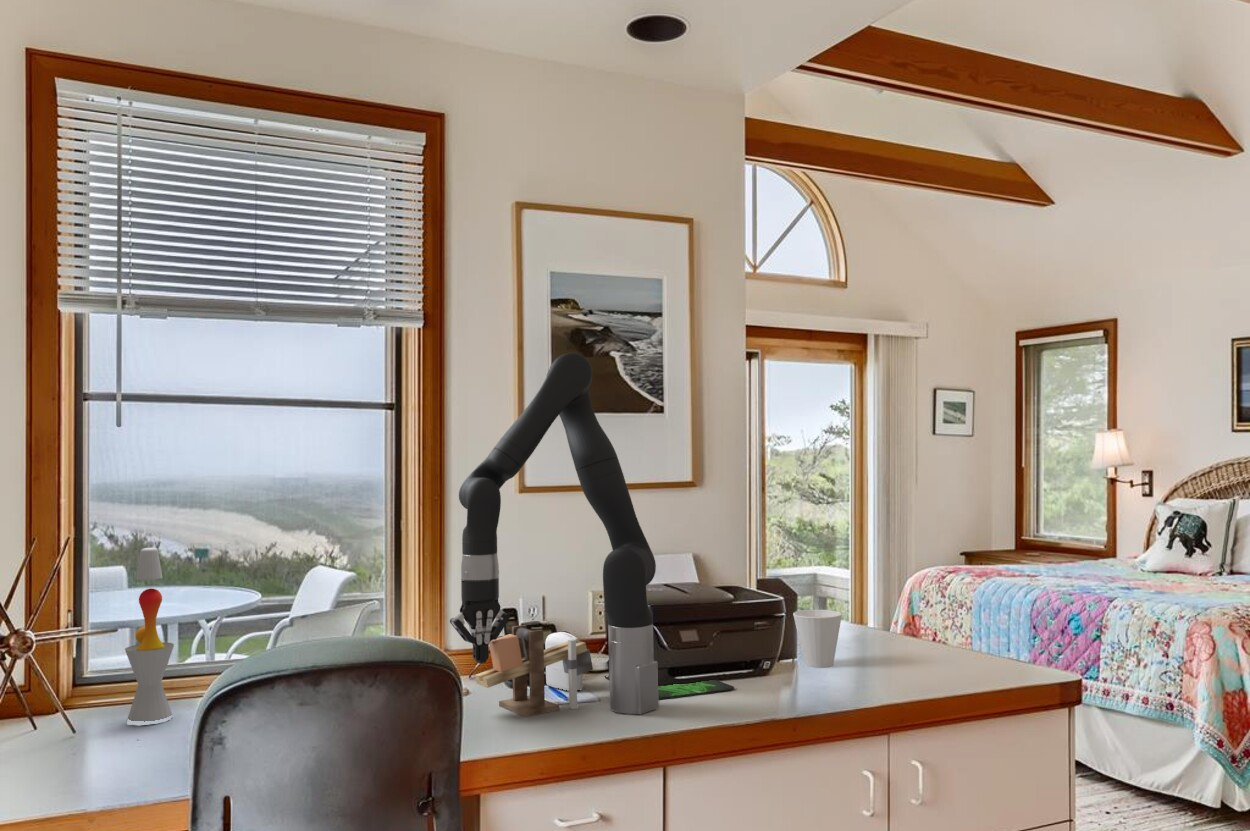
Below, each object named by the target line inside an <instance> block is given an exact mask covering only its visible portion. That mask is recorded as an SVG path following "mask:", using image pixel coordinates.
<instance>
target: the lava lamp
mask: <svg viewBox="0 0 1250 831" xmlns="http://www.w3.org/2000/svg"><path fill="white" fill-rule="evenodd" d="M162 572H163V571H162V565H161V562H160V556H159V550H158V548H156V547H145V548H142V549H141V550H140V554H139V560H138V564H137V572H136V578H135V580H136V581H153V580H159V579H161V580H162V579H163V573H162ZM162 602H163V595H162V593H161V591H159V590H158V589H156V588H147V589H144V590H143V591H142V592H141V593H140V594H139V597H138V604H139V606H140V608H141V611H142V612H141V613H142V615H143V620H144V626H142V627H139V628H138V629H137V631H136V632H135V640H136V641H137V642H138V644H135V645H129V646H127V647H125V648H124V650H125V653H126V656H127V659H128V661H129V664H130V666H131V667H130V668H131V669H132V672H133V674H134V678H135V680H136V683H137V684H138V685H137V687H136V690H135V694H134V697H133V699H132V704H131V707H130V709H129V713H128V716H127V719H129V720H131V721H144V722H145V721H155V720H160V719H164V718H167V717H169V716H171V715H173V713H172V709H171V707H170V704H169V701H168V698H167V695H166V691H165V688H164V687H163V684H162V681H163V678H164V675H165V673H166V669H167V667H168V664H169V661H170V658H171V655H172V653H173V650H174V647H175V644H174V643H172V642H163V641H162V640H161V639H160V637H159V635H158V634H159V633H158V631H157V617H158V613H159V610H160V607H161V604H162Z"/></svg>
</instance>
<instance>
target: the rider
mask: <svg viewBox="0 0 1250 831" xmlns="http://www.w3.org/2000/svg"><path fill="white" fill-rule="evenodd" d="M489 652H490V657H491V662H492V669H493V668H494V670H497V671H498V672H504V671H506V670H509V669H512V668H515V667H517V666H520V665H523V663H522V657H521V652H520V646H519V640H518V636H516V635H512V633H508V634H506V635H503V636H498V638H497V639H496V640H492V641H490V642H489Z"/></svg>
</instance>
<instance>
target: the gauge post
mask: <svg viewBox="0 0 1250 831" xmlns="http://www.w3.org/2000/svg"><path fill="white" fill-rule="evenodd" d="M567 668H569V691H568V708H569V709H570V708H571V710H575V709H574V708H577V709H578V691H577V659H576V640H574V639H571V640H568V659H567Z"/></svg>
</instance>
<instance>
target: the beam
mask: <svg viewBox="0 0 1250 831" xmlns="http://www.w3.org/2000/svg"><path fill="white" fill-rule="evenodd" d="M529 631H534V630H532V629H530V628H529V629H528V628H527V627H526V628H518V629H517V631H516V636H518V639H521V640H522V643H523V649H524V654H525V657H523V658H522V663H523V665H520V666H517V667H515V668H512V669H509V670H506V671H504V672H498V671H497V670H494V668H493V667H492V668H490V669H488V670H487V669H486V670H485V671H484V670H483V672H482V671H481V672H480V673H476V674H474V676H475V682H476V684H477V685H479V686H483V687H485V688H491V687H494V686H496V685H500V684H502V683H505V682H507V681H510V680H513V678H516V677H518V676H521V675H524V674H526V673H527V674H529ZM586 644H587V642H584V641H580V642H579V643H578V642H577V640H576V659H577V676H578V675H580V674H582V675H583V674H584V673H588V672H590V671H593V668H594V667H593V661H592V657H591V656H592V655H591V650H590V649H589V648H587V645H586ZM567 659H568V641H567V642H565V643H562V644H559V645H556V646H554V647H551V648H548V649H544V668H546V666H548V665H551V664H553V663H556V662H559V661H561V660H562V661H563V667H564V672H565V673H568V674H569V668H567Z"/></svg>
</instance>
